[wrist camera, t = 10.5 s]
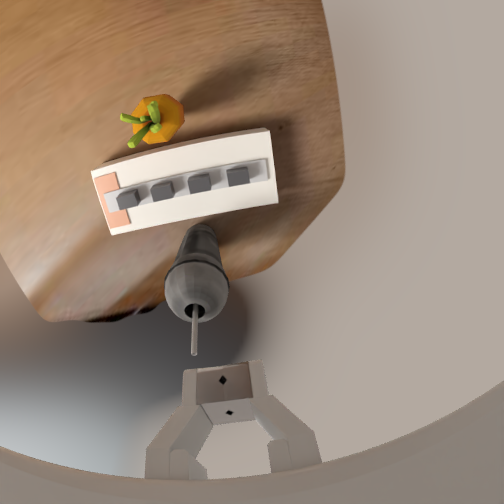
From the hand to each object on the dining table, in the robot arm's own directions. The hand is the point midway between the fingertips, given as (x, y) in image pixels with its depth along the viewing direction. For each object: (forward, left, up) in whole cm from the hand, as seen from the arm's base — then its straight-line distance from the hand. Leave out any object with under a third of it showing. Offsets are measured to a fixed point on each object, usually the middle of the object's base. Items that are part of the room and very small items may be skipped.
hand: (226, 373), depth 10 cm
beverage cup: (+10, -4, -31) cm, 32 cm away
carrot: (-8, -4, -31) cm, 32 cm away
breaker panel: (0, -4, -31) cm, 31 cm away
